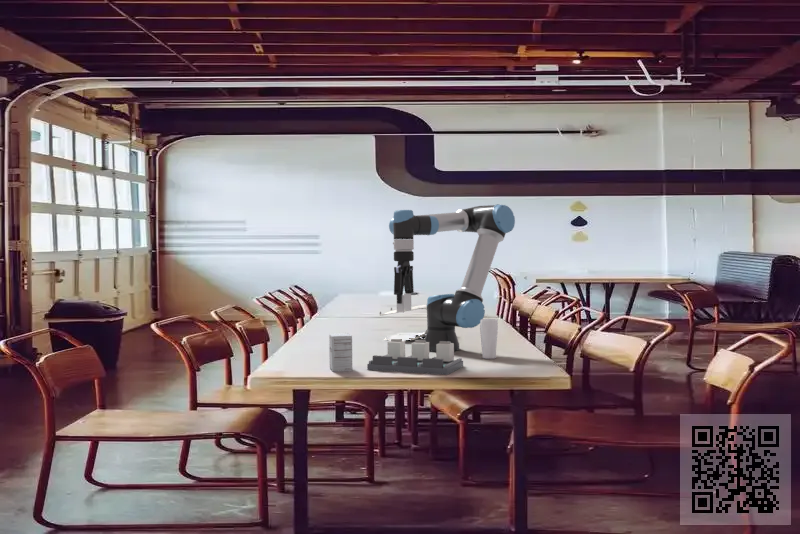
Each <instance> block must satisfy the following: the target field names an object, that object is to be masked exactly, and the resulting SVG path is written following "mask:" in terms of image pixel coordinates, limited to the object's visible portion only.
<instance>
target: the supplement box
mask: <svg viewBox="0 0 800 534" xmlns="http://www.w3.org/2000/svg"><path fill="white" fill-rule="evenodd" d="M328 337H329V341H328V342H329V344H328V345H329V347H328V348H329V369H330V370H331V372H333V373H334V372H338V373H339V372H351V371H353V335H351V334H350V333H349V332H347V333H346V332H345V333H344V332H343V333H340V332H339V333H329V334H328Z"/></svg>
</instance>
